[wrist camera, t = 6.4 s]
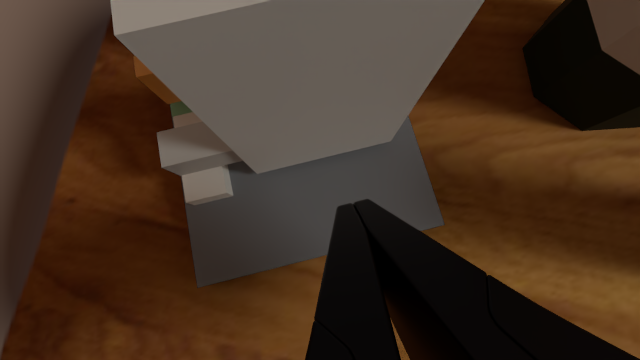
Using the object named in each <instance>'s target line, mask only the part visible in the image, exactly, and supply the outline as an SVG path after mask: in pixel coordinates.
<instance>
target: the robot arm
mask: <svg viewBox="0 0 640 360" xmlns="http://www.w3.org/2000/svg"><path fill="white" fill-rule="evenodd" d="M390 318H391V319H390ZM314 319H315V321H314V322H313V326H312V331H311V336H310V341H309V345H308V349H307V353H306V357H305V360H401V358H400V354H399V350H398V346H397V342H396V339H395V335H394V331H393V327H392V323H391V320H392V322H393V324H394V326H395V328H396V331H397V333H398V335H399V337H400V339H401V341H402V343H403V345H404V348H405V350H406V352H407V354H408V356H409V358H410V360H640V359H638V358H636V357H635V356H633V355H631V354H629V353H627V352H625V351H623V350H621V349H619V348H618V347H616V346H614V345H612V344H610V343H608V342H606V341H604V340H602V339H601V338H599V337H597V336H595V335H593V334H591V333H589V332H587V331H585V330H584V329H582V328H580V327H578V326H576V325H574V324H573V323H571V322H569V321H567V320H565V319H563V318H562V317H560V316H558V315H556V314H554V313H553V312H551V311H549V310H547V309H545V308H544V307H542V306H540V305H538V304H537V303H535V302H533V301H532V300H530V299H528V298H527V297H525V296H523V295H522V294H520V293H518V292H517V291H515V290H513V289H512V288H510V287H508V286H507V285H505V284H503V283H502V282H500V281H499V280H497V279H496V278H494V277H492V276H491V275H488V276H487V274H486V272H484V271H483V270H481V269H479V268H478V267H476V266H475V265H473V264H471V263H470V262H468V261H467V260H465V259H464V258H462V257H460V256H459V255H457V254H456V253H454V252H452V251H451V250H449V249H448V248H446V247H445V246H443V245H441V244H440V243H438V242H437V241H435V240H433V239H432V238H430V237H429V236H427V235H425V234H424V233H422V232H421V231H419V230H418V229H416V228H414V227H413V226H411V225H410V224H408V223H406V222H405V221H403V220H402V219H400V218H399V217H397V216H395V215H394V214H392V213H391V212H389V211H387V210H386V209H384V208H383V207H381V206H379V205H378V204H376V203H375V202H373V201H372V200H370V199H363V200H359V201H356V202H354V204H352V203H348V204H344V205H340V206H338V207H337V209H336V214H335V219H334V224H333V228H332V233H331V238H330V243H329V248H328V253H327V258H326V263H325V268H324V273H323V278H322V283H321V288H320V292H319V297H318V302H317V307H316V312H315V317H314Z"/></svg>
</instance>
